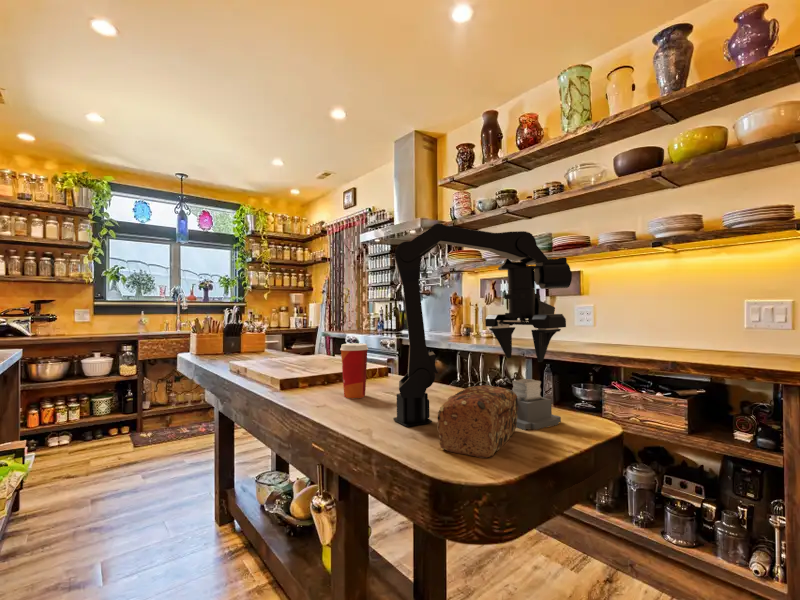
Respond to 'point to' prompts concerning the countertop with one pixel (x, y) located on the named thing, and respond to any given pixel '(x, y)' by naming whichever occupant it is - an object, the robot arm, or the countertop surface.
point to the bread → (477, 420)
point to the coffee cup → (354, 369)
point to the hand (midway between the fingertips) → (524, 359)
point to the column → (527, 389)
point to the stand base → (536, 414)
